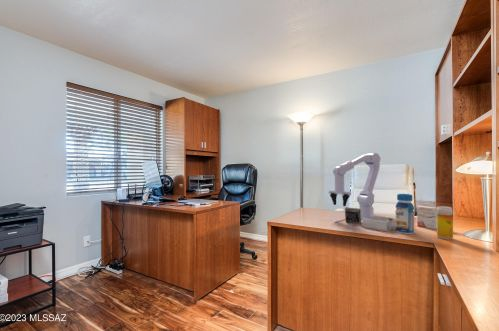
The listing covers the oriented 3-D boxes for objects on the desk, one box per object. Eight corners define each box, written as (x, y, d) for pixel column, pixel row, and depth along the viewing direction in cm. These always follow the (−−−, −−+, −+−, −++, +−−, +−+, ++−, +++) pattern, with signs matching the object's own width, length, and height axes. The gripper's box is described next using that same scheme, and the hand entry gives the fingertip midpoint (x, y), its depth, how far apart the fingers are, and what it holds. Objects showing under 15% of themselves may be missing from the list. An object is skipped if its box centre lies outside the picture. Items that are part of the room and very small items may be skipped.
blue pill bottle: (417, 235, 122) (417, 195, 122) (399, 234, 123) (399, 195, 123) (409, 230, 130) (409, 193, 130) (392, 230, 131) (392, 193, 132)
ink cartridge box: (417, 226, 139) (416, 201, 140) (418, 225, 143) (418, 200, 143) (435, 229, 134) (435, 202, 134) (436, 227, 137) (436, 201, 137)
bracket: (373, 223, 148) (373, 213, 148) (396, 227, 138) (396, 217, 138) (362, 226, 138) (362, 216, 139) (387, 231, 128) (386, 220, 128)
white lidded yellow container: (454, 240, 112) (453, 208, 112) (437, 238, 115) (437, 207, 115) (451, 237, 117) (451, 206, 117) (436, 235, 120) (435, 205, 121)
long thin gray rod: (348, 218, 161) (348, 218, 161) (350, 218, 161) (350, 218, 161) (334, 222, 150) (334, 222, 150) (335, 222, 149) (335, 222, 149)
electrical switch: (361, 222, 150) (361, 207, 149) (360, 224, 146) (359, 209, 145) (345, 220, 155) (345, 206, 154) (344, 223, 151) (343, 208, 150)
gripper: (326, 184, 160) (326, 204, 160) (347, 185, 149) (347, 207, 149) (332, 183, 165) (332, 203, 164) (352, 185, 154) (352, 206, 153)
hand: (339, 205), depth 157 cm, fingers open, 6 cm apart
